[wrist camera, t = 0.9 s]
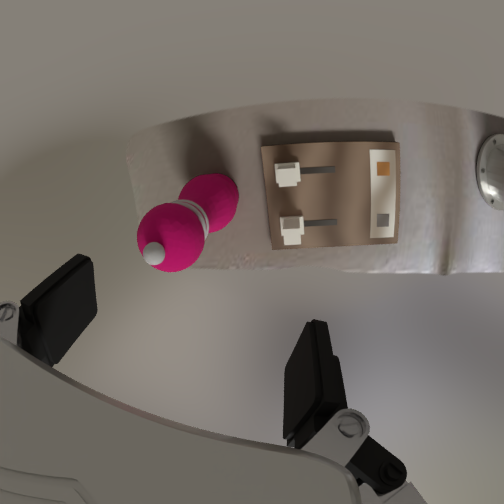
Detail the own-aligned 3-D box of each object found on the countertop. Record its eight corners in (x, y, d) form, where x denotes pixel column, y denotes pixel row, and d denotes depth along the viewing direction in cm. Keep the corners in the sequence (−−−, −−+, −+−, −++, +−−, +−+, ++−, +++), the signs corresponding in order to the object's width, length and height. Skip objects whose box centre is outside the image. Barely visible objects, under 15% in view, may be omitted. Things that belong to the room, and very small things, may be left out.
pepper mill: (230, 161, 35) (166, 196, 17) (250, 210, 38) (210, 288, 20) (184, 181, 37) (96, 231, 19) (204, 226, 40) (138, 306, 22)
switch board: (395, 142, 31) (399, 142, 29) (394, 239, 36) (397, 243, 35) (262, 146, 34) (260, 146, 32) (272, 245, 39) (272, 250, 38)
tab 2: (303, 215, 35) (304, 226, 31) (304, 232, 36) (305, 245, 32) (280, 217, 36) (278, 228, 32) (281, 234, 37) (280, 247, 33)
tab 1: (298, 161, 32) (299, 166, 28) (300, 180, 33) (301, 187, 29) (274, 163, 33) (272, 168, 29) (276, 182, 34) (274, 189, 30)
